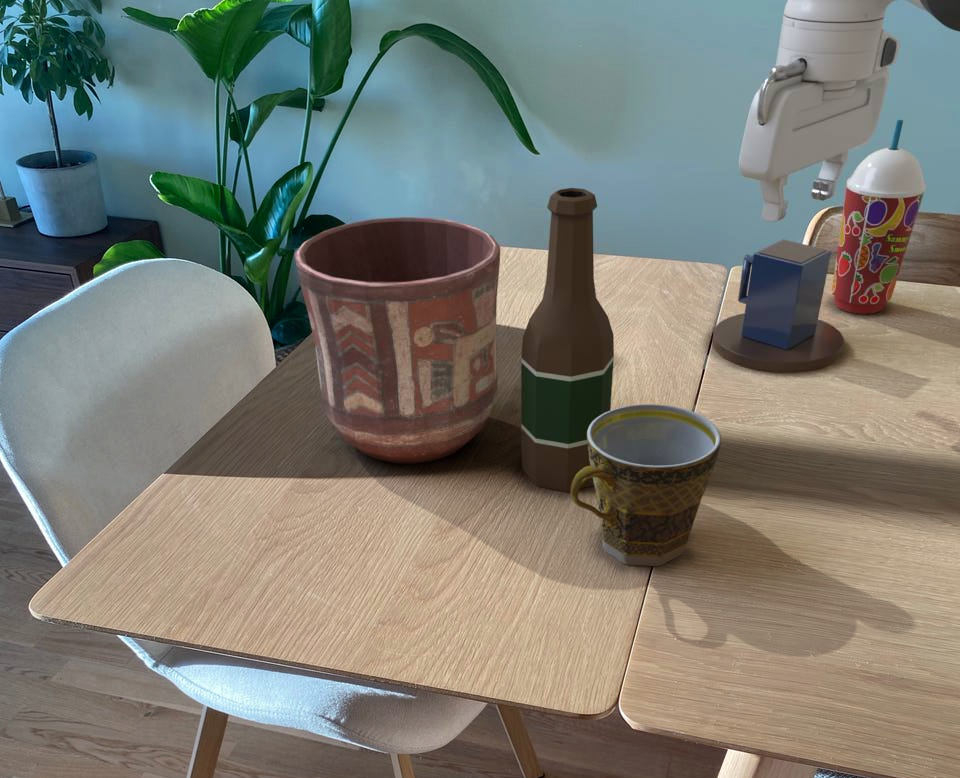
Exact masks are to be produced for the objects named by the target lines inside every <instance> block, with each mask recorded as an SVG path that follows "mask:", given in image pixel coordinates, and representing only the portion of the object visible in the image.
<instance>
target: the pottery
mask: <svg viewBox="0 0 960 778" xmlns="http://www.w3.org/2000/svg"><path fill="white" fill-rule="evenodd" d="M294 260H295V265H296V271H297V276H298V282H299V284H300V285H299V286H300V288H301V292H302V295H303V299H304V302H305V307H306V310H307V314H308V318H309V323H310V328H311V332H312V337H313V342H314V347H315V355H316V364H317V371H318V379H319V380H318V381H319V388H320V393H321V400H322V404H323V409H324V411H325V414H326V415H327V418H328V420H329V421H330V422H331V424H332V426H334V428H335V429H336V430H337V432H338V433H339V435H340V436H341V437H342V438H343V439H344V440H345V441H346V442H347V443H348V444H349V445H350V446H351V447H353V448H354V449H356V450H357V451H358V452H360V453H362V454H363V455H365V456H367V457H369V458H372V459H374V460H376V461H381V462H387V463H392V464H399V465H400V464H403V465H404V464H405V465H406V464H407V465H408V464H413V465H414V464H415V465H416V464H421V463H428V462H433V461H438V460H442V459H444V458H446V457H448V456H450V455H453V454H456V453H457V452H458V451H459V450H460V449H462V448H463V447H464V446H465V445H466V444H468V442H470V441H471V440H473V438H474V437H475V436H476V435H478V434H479V433H480V432H481V431H482V429H483V427H484V426H485V424H486V423H487V421H488V418H489V417H490V415H491V412H492V408H493V407H494V406H493V405H494V403H495V399H496V395H497V393H498V375H499V374H498V351H497V348H498V347H497V311H498V310H497V309H498V307H497V304H498V290H499V289H498V288H499V275H500V264H501V246H500V244H499V243H498V242H497V240H496V239H495V237H493V235H491V234H489V233H488V232H485V231H484V230H482V229H479V228H478V227H475V226H474V225H471V224H466V223H462V222H459V221H454V220H450V219H442V218H434V217H433V218H432V217H413V216H406V217H405V216H397V217H382V218H381V217H380V218H379V217H378V218H370V219H365V220H359V221H354V222H348V223H345V224H342V225H338V226H336V227H332V228H330V229H326V230H324V231H322V232H320V233H317V234H316V235H314V236H311V237H310V238H309V239H307V240H306V241H304V242H302V244H301V245H299V247H298V248H297V250H296V251H295V252H294Z"/></svg>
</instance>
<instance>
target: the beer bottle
mask: <svg viewBox="0 0 960 778" xmlns="http://www.w3.org/2000/svg"><path fill="white" fill-rule="evenodd" d="M597 207H598V203H597V198H596V194H594V193H592V192H591V191H589V190H588V189H585V188H579V187H578V188H577V187H569V188H568V187H567V188H561V189H558V190H555V191H554V192H553V193H551V195H550V196H549V200H548V203H547V209H548V210H549V211H550V213H551V214H550V225H549V238H548V239H549V240H548V249H547V250H548V251H547V262H546V263H547V264H546V265H547V266H546V277H545V284H544V290H543V294H542V299H541V301H540V302H539V304H538V306H537V307H536V308H535V310H534V311H533V313H532V314H531V316H530V317H529V319H528V322H527V325H526V328H525V330H524V333H523V336H522V343H521V344H522V345H521V356H520V367H521V368H520V373H521V374H520V376H521V378H520V382H521V383H520V390H521V391H520V392H521V393H520V395H521V396H520V397H521V398H520V401H521V402H520V404H521V405H520V409H521V410H520V413H521V414H520V419H521V420H520V421H521V422H520V426H521V427H520V429H521V431H520V432H521V433H520V436H521V437H520V443H521V444H520V446H521V449H520V453H521V467H522V470H523V472H524V473H525V474H526V476H527V477H528V478H529V479H530V480H531V482H533V483H534V485H535V486H536V487H539V488H543V489H549V490H553V491H560V492H565V493H568V492H571V486H572V483H573V480H574V478H575V476H576V474H577V473H578V472H579V471H580V470H582V469H583V468H584V467H587V466H591V465H590V460H589V452H588V443H587V431H588V428H589V426H590V424H591V423H592V422H593V421H594V420H595V419H596V418H597V417H599V416H600V415H602V414H604V413H606V412H608V411H611V410H612V409H611V407H612V390H613V376H614V375H613V374H614V361H615V359H614V358H615V347H614V346H615V344H614V341H615V339H614V332H613V329H612V326H611V325H612V324H611V322H610V318H609V316H608V314H607V313H606V311H605V310H604V308H603V306H602V304H601V303H600V301H599V300H598V298H597V293H596V285H595V274H594V273H595V271H594V269H595V267H594V266H595V265H594V263H595V261H594V259H595V258H594V210H596V209H597ZM592 486H594V481H593V477H592V478H590V479H588V480H586V481H585V482H584V483H583V484H582V485H581V486H580V488H579V490H580V489H584V488H588V487H592Z"/></svg>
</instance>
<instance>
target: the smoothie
mask: <svg viewBox="0 0 960 778" xmlns="http://www.w3.org/2000/svg"><path fill="white" fill-rule="evenodd" d="M903 124H904V120H903V119H897V120H896V123H895V128H894V133H893V136H892V142H891V146H889V147H885V148H881V149H877V150H876V151H873V152H872V153H870V154H869V155H866V157H865V158H864V159H863V160H862V161H861V162H860V163H859V164H858V165H857V166H856V168H855V169H854V171H853V172H852V174H851V175H850V177H849V178H848V179H847V180H846V182H845V183H846V184H845V185H846V187H845V193H844V202H843V207H842V215H841V220H840V221H841V223H840V229H839V235H838V243H837V250H836V258H835V264H834V272H833V279H832V287H831V294H832V296H834V305H835V306H836V307H837V308H838V309H840V310H842V311H844V312H848V313H851V314H852V313H853V314H857V315H858V314H859V315H866V314H867V315H869V314H874V313H875V314H876V313H878V312H881V311H882V310H883V309H884V308H885V306H886V304H887V302H888V301H891V299H892V297H893V295H894V292H895V287H896V284H897V281H898V278H899V275H900V271H901V268H902V265H903V262H904V259H905V255H906V252H907V250H908V249H907V248H908V247H909V246H908V245H909V243H910V239H911V236H912V233H913V230H914V226H915V223H916V219H917V217H918V213H919V210H920V207H921V204H922V200H923V197H924V193H925V191H926V190H927V184H926V182H925V181H924V175H923V169H922V168H921V164H920V162H919V160H918V158H916V157H915V155H913V154H912V153H910V152H909V151H908V150H905V149H903V148H900V147H898V146H899V142H900V137H901V132H902V128H903Z"/></svg>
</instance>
